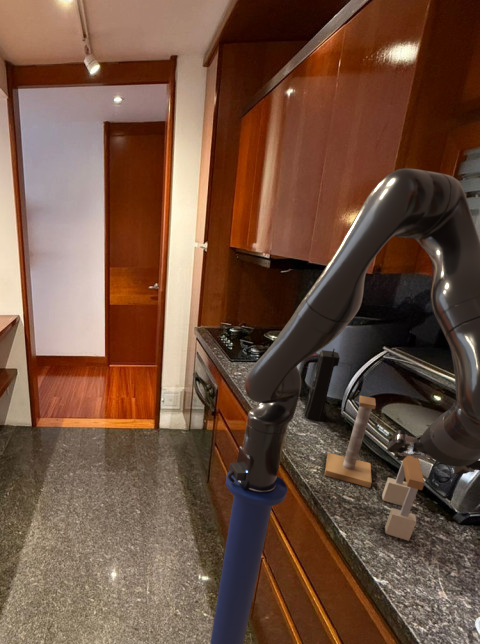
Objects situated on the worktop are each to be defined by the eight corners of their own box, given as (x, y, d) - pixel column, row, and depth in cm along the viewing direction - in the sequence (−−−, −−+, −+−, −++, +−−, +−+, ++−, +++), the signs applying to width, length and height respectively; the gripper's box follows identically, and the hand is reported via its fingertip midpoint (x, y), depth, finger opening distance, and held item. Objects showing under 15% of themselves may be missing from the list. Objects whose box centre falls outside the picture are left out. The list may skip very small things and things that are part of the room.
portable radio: (303, 409, 138) (318, 341, 128) (323, 412, 135) (339, 343, 126) (304, 418, 131) (319, 348, 122) (324, 422, 129) (341, 350, 119)
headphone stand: (324, 475, 102) (343, 403, 94) (326, 457, 109) (344, 389, 101) (370, 487, 97) (394, 413, 89) (369, 468, 104) (391, 397, 96)
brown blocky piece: (385, 533, 82) (405, 479, 77) (382, 494, 94) (398, 445, 89) (408, 541, 80) (430, 486, 75) (402, 500, 92) (420, 450, 87)
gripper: (527, 425, 57) (479, 454, 70) (407, 403, 64) (384, 434, 78) (524, 473, 55) (475, 494, 68) (401, 445, 62) (378, 469, 75)
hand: (427, 462), depth 73 cm, fingers open, 8 cm apart
